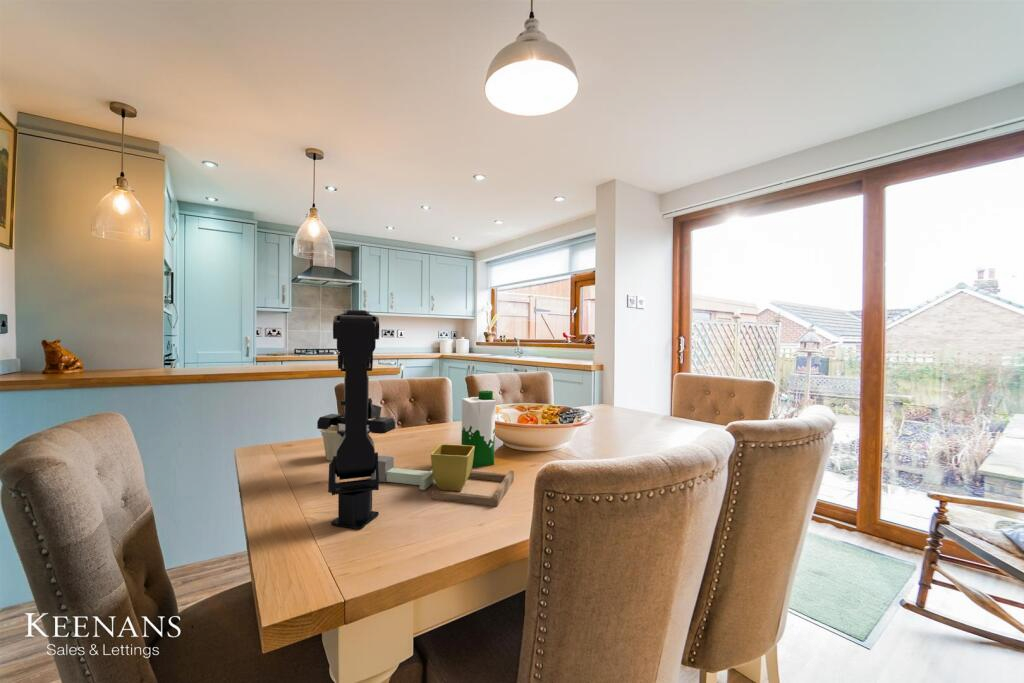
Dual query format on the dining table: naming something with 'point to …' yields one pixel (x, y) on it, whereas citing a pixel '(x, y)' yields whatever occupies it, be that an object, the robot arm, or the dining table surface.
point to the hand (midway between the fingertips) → (356, 457)
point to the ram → (402, 474)
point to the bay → (480, 499)
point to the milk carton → (479, 427)
